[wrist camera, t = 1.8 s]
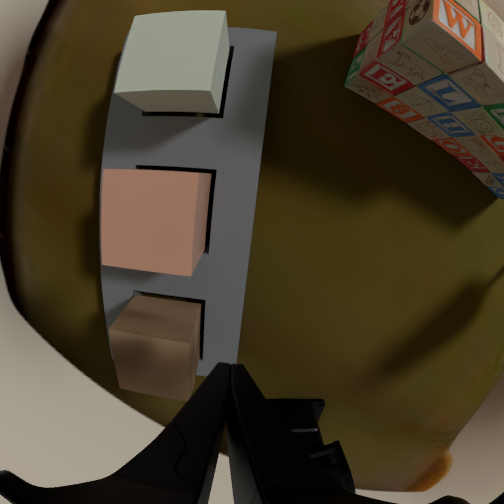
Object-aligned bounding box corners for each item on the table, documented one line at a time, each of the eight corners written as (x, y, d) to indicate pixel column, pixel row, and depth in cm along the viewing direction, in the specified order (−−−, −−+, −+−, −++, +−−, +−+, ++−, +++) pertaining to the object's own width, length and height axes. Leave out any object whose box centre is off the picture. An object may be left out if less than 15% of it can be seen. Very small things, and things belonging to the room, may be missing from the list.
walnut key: (199, 358, 20) (190, 402, 16) (140, 348, 20) (119, 388, 15) (201, 303, 19) (189, 343, 14) (135, 294, 19) (108, 328, 14)
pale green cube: (219, 113, 16) (210, 90, 11) (145, 111, 15) (113, 93, 11) (229, 48, 14) (225, 10, 10) (158, 48, 14) (135, 15, 9)
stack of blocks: (507, 151, 18) (587, 159, 7) (497, 199, 20) (581, 222, 8) (358, 33, 16) (434, -42, 4) (340, 87, 17) (433, 17, 5)
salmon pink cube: (204, 249, 18) (191, 276, 13) (134, 242, 18) (101, 264, 13) (211, 173, 17) (199, 172, 12) (138, 169, 16) (103, 168, 12)
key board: (234, 364, 23) (234, 379, 21) (119, 347, 23) (112, 359, 21) (273, 43, 16) (276, 32, 14) (136, 41, 15) (128, 31, 13)
